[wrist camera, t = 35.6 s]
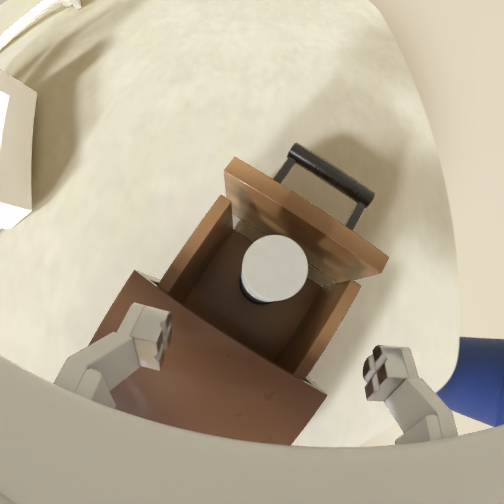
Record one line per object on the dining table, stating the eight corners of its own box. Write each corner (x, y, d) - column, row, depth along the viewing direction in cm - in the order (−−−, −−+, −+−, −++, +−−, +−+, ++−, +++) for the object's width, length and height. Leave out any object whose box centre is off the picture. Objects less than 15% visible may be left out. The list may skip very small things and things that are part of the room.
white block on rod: (101, -43, 24) (-38, 67, 23) (117, -12, 32) (-14, 87, 32) (96, -51, 25) (-30, 46, 25) (110, -24, 34) (-9, 64, 33)
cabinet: (171, 283, 25) (134, 269, 15) (295, 364, 24) (328, 395, 15) (94, 408, 22) (39, 442, 13) (206, 481, 21) (195, 544, 12)
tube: (291, 276, 23) (322, 257, 15) (267, 312, 23) (286, 316, 14) (254, 252, 24) (265, 219, 15) (230, 288, 23) (226, 277, 14)
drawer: (265, 158, 26) (275, 106, 19) (371, 226, 26) (415, 197, 18) (145, 331, 23) (107, 340, 15) (261, 406, 22) (271, 446, 15)
